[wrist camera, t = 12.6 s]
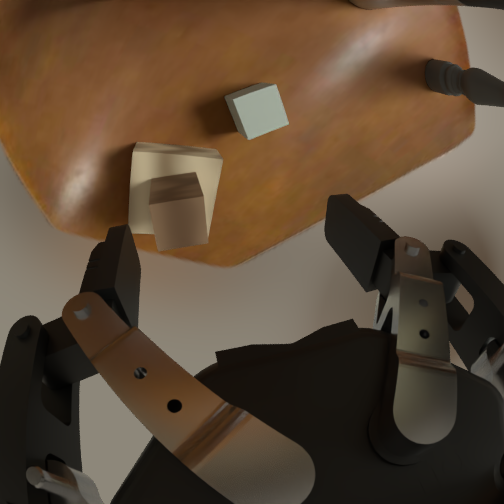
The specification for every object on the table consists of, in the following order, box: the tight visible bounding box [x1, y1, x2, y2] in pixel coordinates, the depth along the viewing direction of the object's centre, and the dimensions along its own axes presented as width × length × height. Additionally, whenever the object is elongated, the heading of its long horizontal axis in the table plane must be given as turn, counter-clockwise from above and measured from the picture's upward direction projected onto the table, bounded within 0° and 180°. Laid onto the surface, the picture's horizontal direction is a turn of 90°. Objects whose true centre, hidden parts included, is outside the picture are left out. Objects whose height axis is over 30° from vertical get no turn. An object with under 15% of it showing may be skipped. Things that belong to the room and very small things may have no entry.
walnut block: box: [149, 172, 208, 251], centre depth 29 cm, size 5×5×7 cm
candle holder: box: [425, 59, 504, 107], centre depth 25 cm, size 6×6×25 cm
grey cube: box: [224, 83, 289, 140], centre depth 31 cm, size 5×5×5 cm
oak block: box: [128, 142, 223, 236], centre depth 34 cm, size 10×10×5 cm
